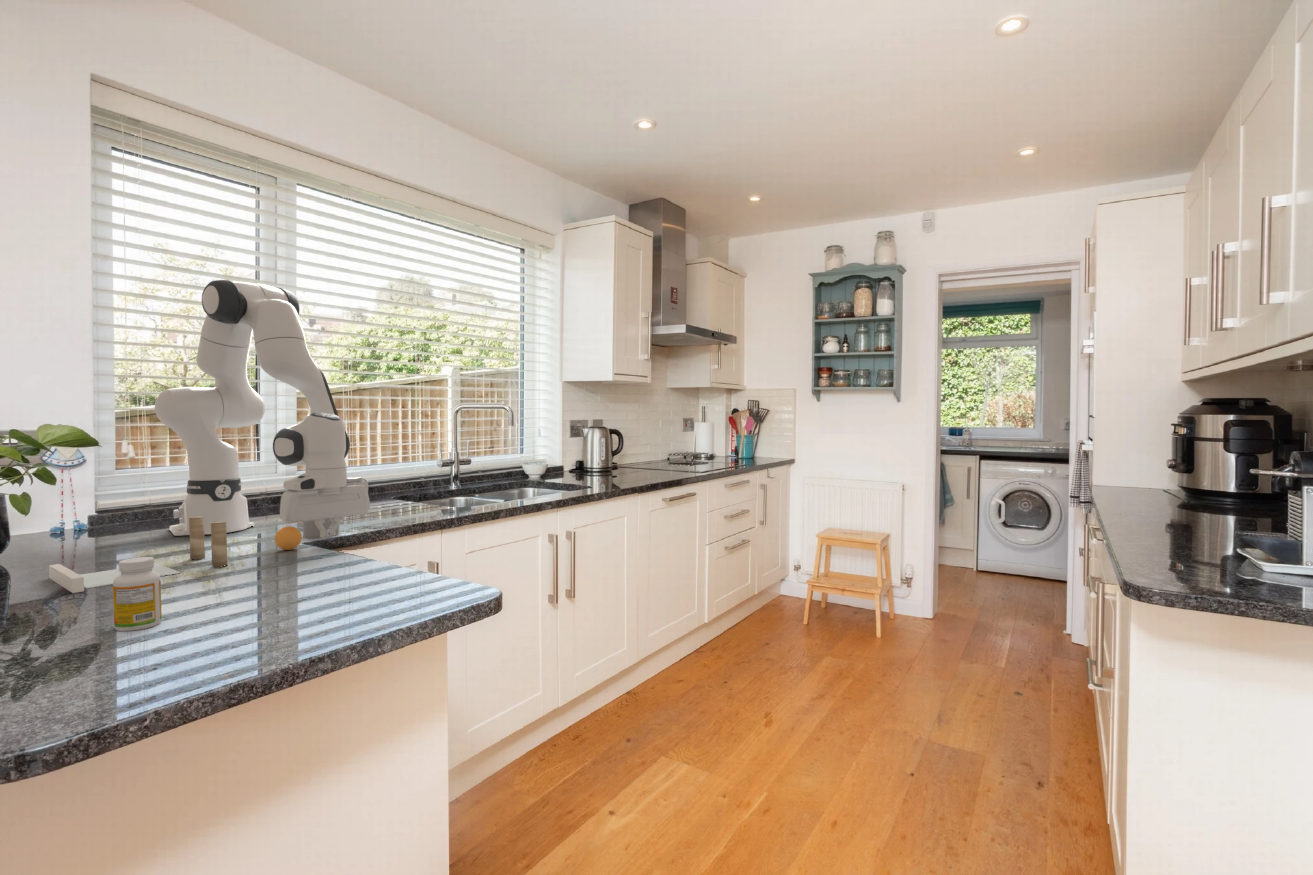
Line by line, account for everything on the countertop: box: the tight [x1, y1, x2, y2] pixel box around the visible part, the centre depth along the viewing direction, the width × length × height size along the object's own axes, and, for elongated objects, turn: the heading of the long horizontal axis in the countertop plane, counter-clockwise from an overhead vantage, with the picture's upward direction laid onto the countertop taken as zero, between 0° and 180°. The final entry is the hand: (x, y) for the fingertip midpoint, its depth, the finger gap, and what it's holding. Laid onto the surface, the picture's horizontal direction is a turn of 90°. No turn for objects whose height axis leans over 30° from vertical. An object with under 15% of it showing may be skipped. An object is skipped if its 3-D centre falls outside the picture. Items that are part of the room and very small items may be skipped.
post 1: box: [189, 517, 206, 560], centre depth 140 cm, size 3×3×9 cm
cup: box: [302, 518, 340, 539], centre depth 168 cm, size 8×8×10 cm
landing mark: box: [80, 562, 181, 589], centre depth 125 cm, size 14×14×1 cm
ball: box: [274, 525, 303, 551], centre depth 149 cm, size 5×5×5 cm
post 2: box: [210, 522, 228, 568], centre depth 132 cm, size 3×3×9 cm
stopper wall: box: [48, 563, 85, 594], centre depth 118 cm, size 18×2×2 cm, turn 53°
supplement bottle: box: [112, 556, 163, 632], centre depth 93 cm, size 5×5×10 cm
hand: (327, 536), depth 156 cm, fingers closed
